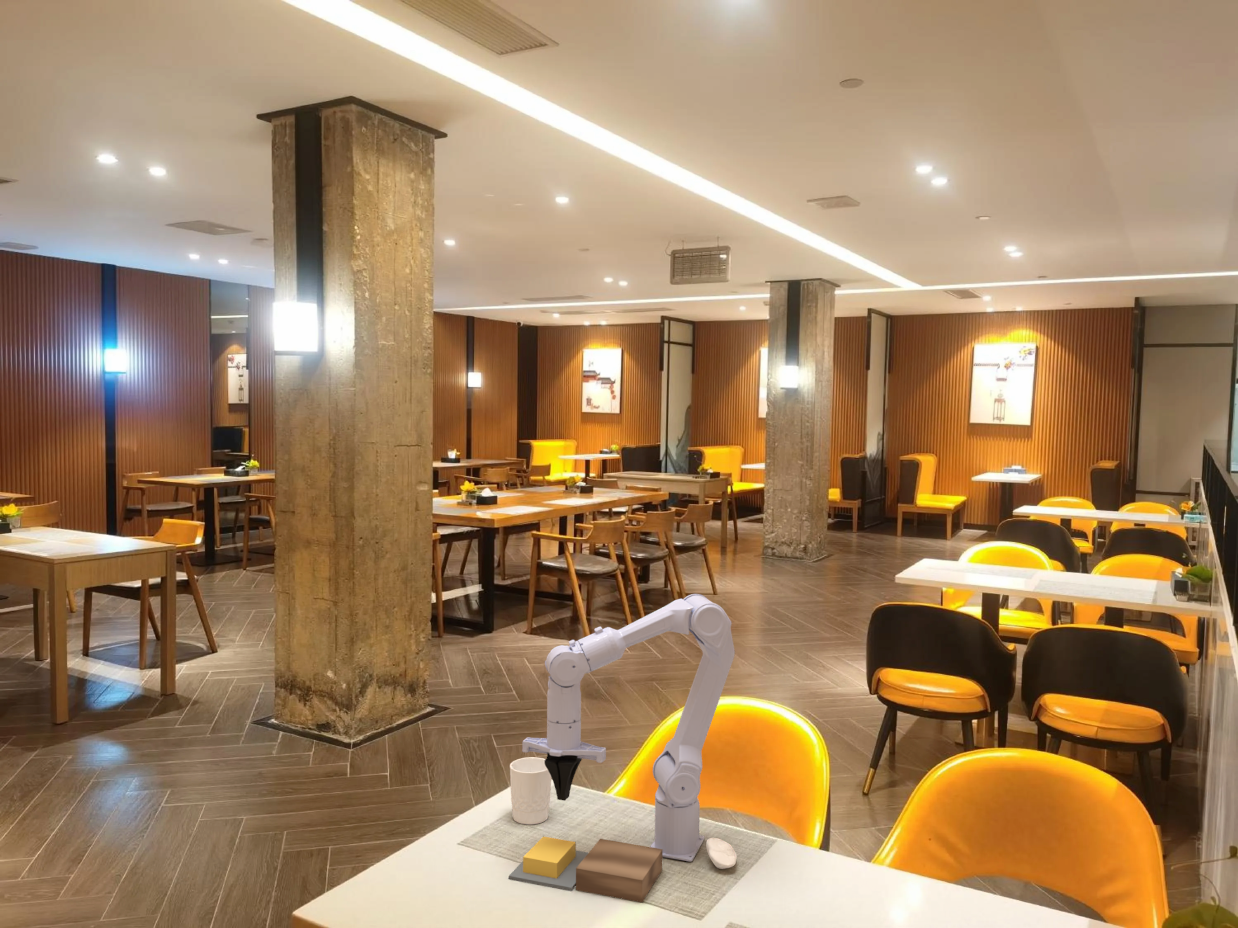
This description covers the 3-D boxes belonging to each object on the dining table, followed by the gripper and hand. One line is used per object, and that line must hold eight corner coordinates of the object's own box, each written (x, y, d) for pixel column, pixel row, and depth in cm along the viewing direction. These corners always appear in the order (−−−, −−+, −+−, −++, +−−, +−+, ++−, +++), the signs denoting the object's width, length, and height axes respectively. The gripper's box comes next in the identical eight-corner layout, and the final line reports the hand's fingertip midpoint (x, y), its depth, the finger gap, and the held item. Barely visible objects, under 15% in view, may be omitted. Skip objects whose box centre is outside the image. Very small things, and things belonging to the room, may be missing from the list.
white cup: (506, 810, 171) (506, 759, 170) (546, 806, 173) (546, 755, 173) (513, 828, 163) (514, 774, 163) (555, 823, 165) (556, 769, 165)
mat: (539, 846, 156) (539, 843, 156) (598, 856, 152) (598, 854, 152) (508, 878, 145) (508, 875, 145) (571, 890, 141) (571, 887, 141)
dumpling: (704, 855, 153) (704, 832, 153) (734, 856, 153) (735, 833, 153) (708, 875, 146) (708, 852, 146) (740, 876, 146) (740, 852, 146)
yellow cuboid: (575, 841, 151) (575, 856, 152) (543, 836, 153) (543, 850, 153) (556, 862, 144) (556, 878, 144) (523, 856, 146) (523, 871, 146)
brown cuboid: (600, 858, 152) (600, 838, 152) (662, 869, 148) (662, 848, 148) (575, 889, 141) (576, 867, 141) (642, 902, 138) (642, 880, 138)
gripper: (514, 720, 150) (514, 800, 150) (595, 730, 145) (595, 813, 145) (532, 708, 156) (531, 785, 157) (610, 717, 152) (609, 796, 152)
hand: (563, 797), depth 151 cm, fingers closed
